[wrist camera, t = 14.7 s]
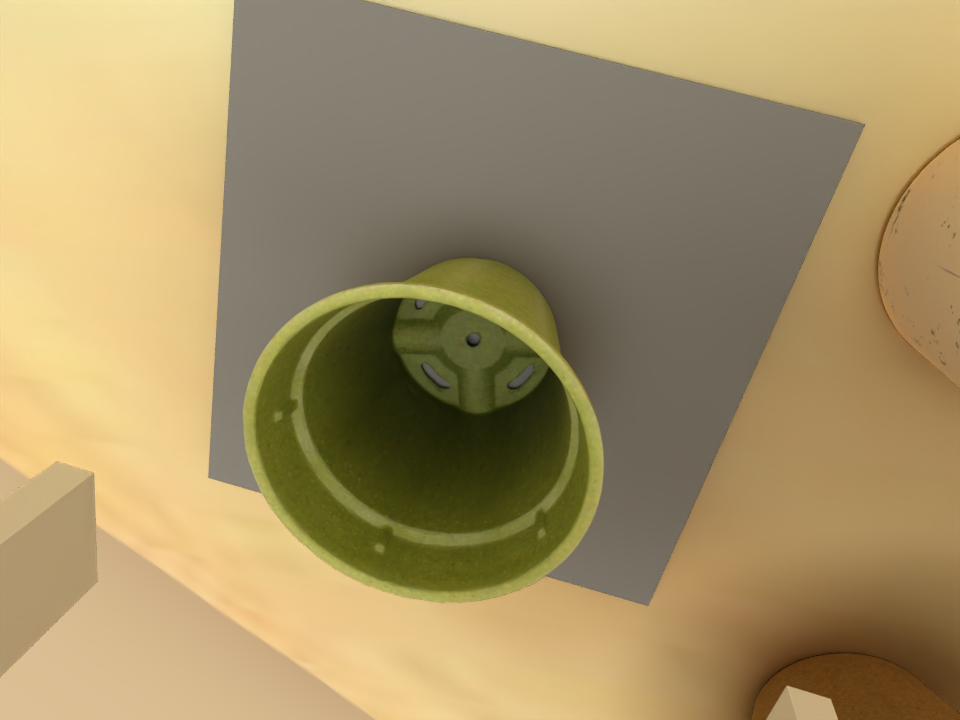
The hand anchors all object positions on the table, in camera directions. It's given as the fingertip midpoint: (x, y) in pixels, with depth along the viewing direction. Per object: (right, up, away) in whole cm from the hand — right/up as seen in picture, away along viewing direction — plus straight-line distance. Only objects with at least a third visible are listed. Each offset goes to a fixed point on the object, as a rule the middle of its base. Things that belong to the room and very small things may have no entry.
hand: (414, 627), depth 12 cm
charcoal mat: (+1, +6, +13) cm, 14 cm away
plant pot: (+1, +6, +13) cm, 14 cm away
